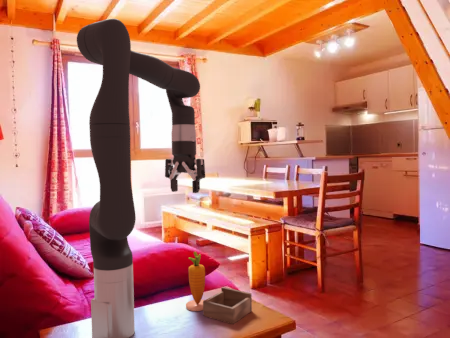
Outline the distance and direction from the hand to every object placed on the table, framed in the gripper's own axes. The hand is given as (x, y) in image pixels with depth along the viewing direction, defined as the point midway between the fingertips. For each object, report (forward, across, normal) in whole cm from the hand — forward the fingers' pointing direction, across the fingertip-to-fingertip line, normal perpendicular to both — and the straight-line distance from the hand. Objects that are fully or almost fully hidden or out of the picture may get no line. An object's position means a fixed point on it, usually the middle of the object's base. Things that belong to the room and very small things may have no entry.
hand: (185, 192), depth 117 cm
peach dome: (+32, +9, -6) cm, 34 cm away
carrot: (+32, +9, -6) cm, 33 cm away
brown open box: (+32, +19, -6) cm, 38 cm away
